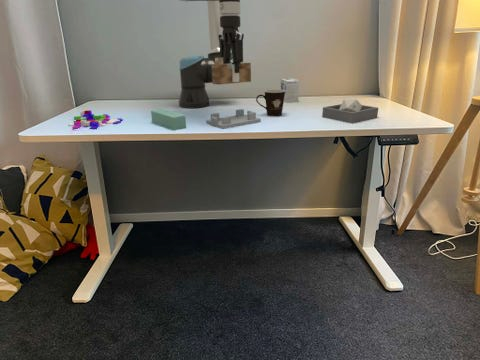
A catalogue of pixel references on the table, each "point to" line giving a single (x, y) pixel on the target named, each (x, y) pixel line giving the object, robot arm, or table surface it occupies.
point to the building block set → (88, 119)
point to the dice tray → (350, 114)
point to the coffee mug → (273, 102)
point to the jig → (233, 119)
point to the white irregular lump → (350, 105)
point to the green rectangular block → (168, 119)
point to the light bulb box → (290, 89)
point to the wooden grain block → (229, 73)
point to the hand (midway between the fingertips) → (231, 81)
